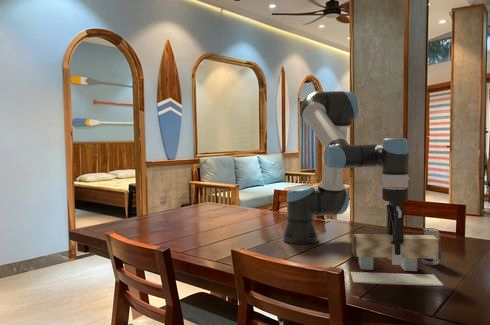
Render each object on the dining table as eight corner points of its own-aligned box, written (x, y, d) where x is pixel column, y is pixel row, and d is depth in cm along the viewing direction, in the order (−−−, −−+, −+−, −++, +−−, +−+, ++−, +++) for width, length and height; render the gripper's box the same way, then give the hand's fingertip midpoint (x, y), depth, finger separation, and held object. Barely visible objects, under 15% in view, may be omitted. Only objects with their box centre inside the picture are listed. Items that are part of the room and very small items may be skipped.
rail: (353, 256, 126) (353, 237, 126) (351, 252, 131) (351, 233, 131) (440, 258, 122) (441, 239, 122) (435, 254, 127) (435, 235, 127)
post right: (404, 270, 135) (404, 247, 134) (399, 263, 142) (399, 241, 142) (417, 271, 134) (417, 247, 134) (411, 264, 142) (411, 241, 141)
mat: (353, 282, 125) (353, 281, 125) (350, 273, 133) (350, 271, 133) (443, 286, 121) (443, 284, 121) (433, 276, 130) (433, 274, 129)
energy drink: (419, 261, 145) (419, 228, 145) (433, 260, 146) (434, 227, 145) (427, 265, 140) (427, 231, 139) (442, 265, 140) (442, 230, 140)
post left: (361, 269, 137) (361, 246, 137) (358, 262, 144) (358, 240, 144) (373, 269, 136) (373, 246, 136) (370, 263, 144) (370, 240, 143)
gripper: (415, 191, 116) (415, 271, 117) (401, 184, 134) (400, 254, 135) (388, 191, 117) (388, 270, 118) (377, 184, 135) (377, 253, 136)
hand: (394, 261), depth 127 cm, fingers closed on rail, 5 cm apart
